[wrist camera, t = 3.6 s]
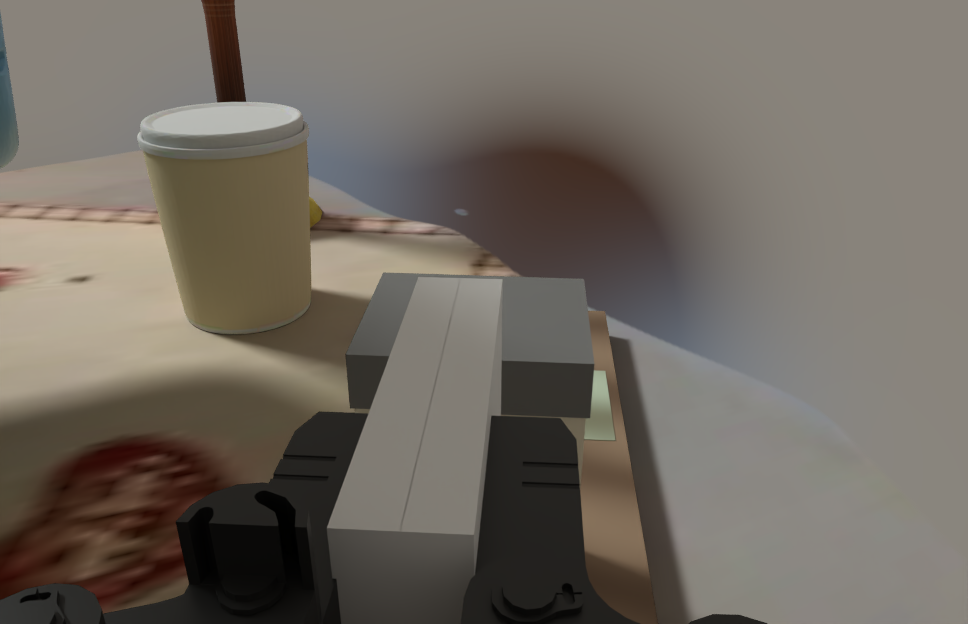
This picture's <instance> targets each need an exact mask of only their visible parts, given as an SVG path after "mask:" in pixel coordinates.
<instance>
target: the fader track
mask: <svg viewBox="0 0 968 624" xmlns="http://www.w3.org/2000/svg"><path fill="white" fill-rule="evenodd" d="M588 316H589V324H590V332H591V340H592V348H593V356H594V376H593V389H592V401H591V414H590V418H586V422H585V435H584V448H583V461H582V474H581V487H580V494H581V508H582V521H583V535H584V549H585V562H586V569H587V573H588V578H589V581H590V582H591V584H592V586H593V588H594V589H595V591H596V593H597V594H598V595H599V596H600V597H601V598H602V599H603V600H604V601H605V602H606V603H607V604H608V605H609V607H611V608H612V609H614V610H615V611H617V612H618V613H620V614H621V615H623V616H624V617H626V618H628V619H631V620H633V621H635V622H638V623H640V624H658V621H657V615H656V610H655V604H654V598H653V592H652V586H651V580H650V574H649V568H648V562H647V557H646V551H645V545H644V539H643V533H642V527H641V521H640V515H639V509H638V503H637V498H636V492H635V486H634V480H633V474H632V468H631V462H630V456H629V450H628V445H627V439H626V433H625V427H624V421H623V415H622V409H621V403H620V397H619V392H618V386H617V380H616V374H615V368H614V362H613V356H612V350H611V344H610V338H609V333H608V327H607V321H606V315H605V311H588Z"/></svg>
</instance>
